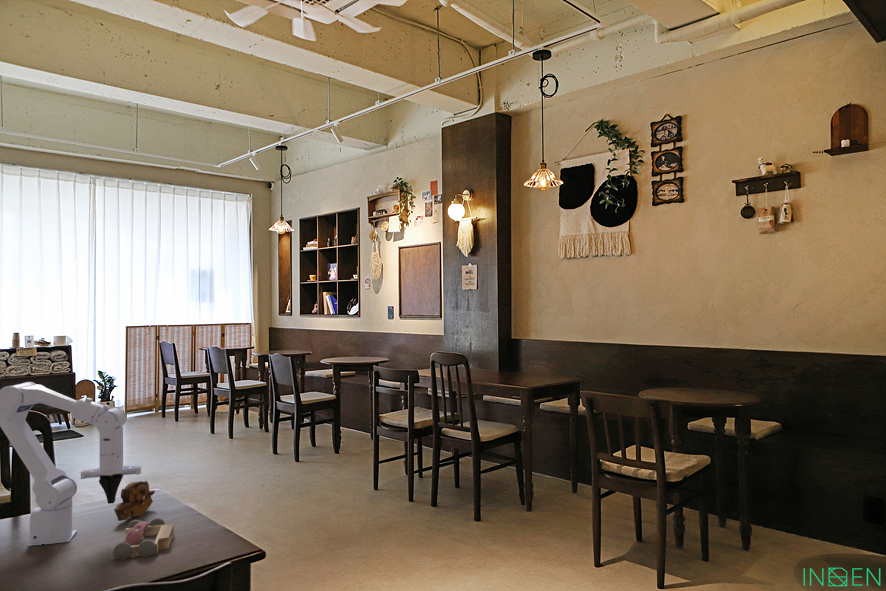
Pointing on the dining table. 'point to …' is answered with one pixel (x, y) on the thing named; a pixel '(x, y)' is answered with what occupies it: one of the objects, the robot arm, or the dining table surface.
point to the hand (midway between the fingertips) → (111, 502)
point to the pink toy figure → (137, 533)
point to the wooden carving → (134, 500)
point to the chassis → (146, 546)
